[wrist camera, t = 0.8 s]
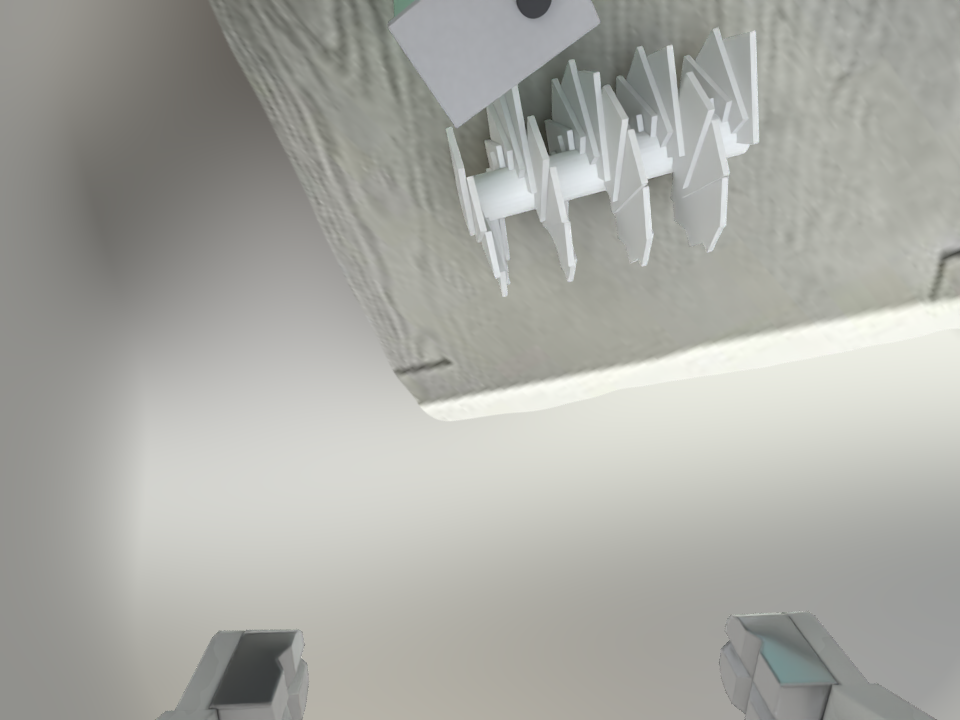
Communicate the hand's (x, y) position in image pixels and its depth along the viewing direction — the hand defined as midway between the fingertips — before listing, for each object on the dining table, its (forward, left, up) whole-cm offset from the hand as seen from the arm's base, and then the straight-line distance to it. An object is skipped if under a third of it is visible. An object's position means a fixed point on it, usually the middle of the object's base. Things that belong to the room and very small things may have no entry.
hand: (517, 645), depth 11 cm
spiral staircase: (+15, +8, -50) cm, 53 cm away
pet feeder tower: (-2, +6, -50) cm, 51 cm away
